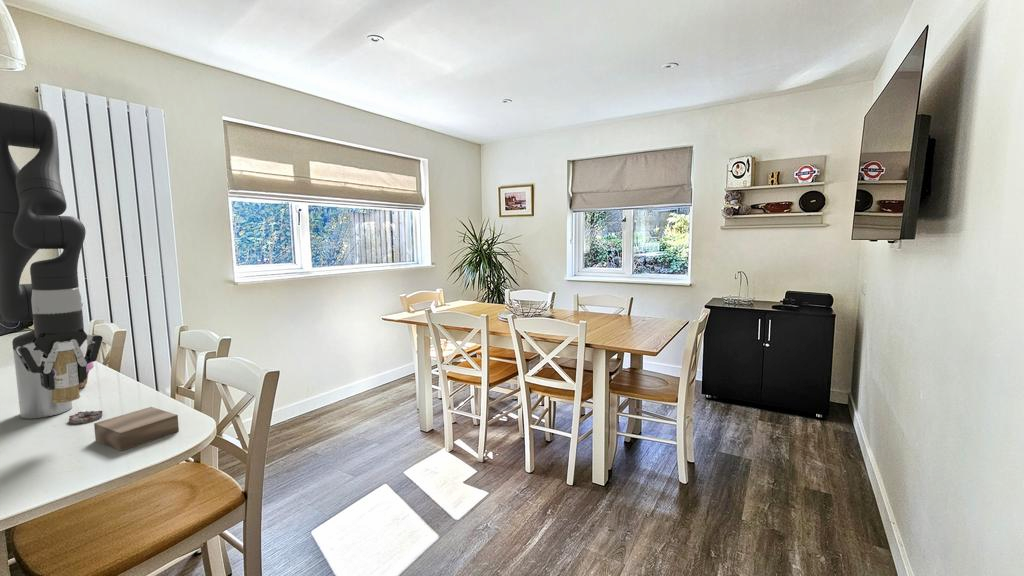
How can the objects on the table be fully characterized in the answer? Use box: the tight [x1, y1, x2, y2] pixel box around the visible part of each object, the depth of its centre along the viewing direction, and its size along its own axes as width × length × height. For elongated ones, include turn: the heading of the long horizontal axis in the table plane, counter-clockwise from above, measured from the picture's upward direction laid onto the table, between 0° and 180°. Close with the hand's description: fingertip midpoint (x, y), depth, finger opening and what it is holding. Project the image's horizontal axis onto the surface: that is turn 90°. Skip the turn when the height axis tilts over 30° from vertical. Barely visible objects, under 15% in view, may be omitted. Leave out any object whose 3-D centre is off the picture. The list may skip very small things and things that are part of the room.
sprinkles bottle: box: [51, 341, 81, 403], centre depth 97 cm, size 5×5×14 cm
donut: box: [68, 410, 104, 425], centre depth 110 cm, size 8×8×2 cm
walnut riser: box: [93, 406, 180, 452], centre depth 102 cm, size 11×11×4 cm
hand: (65, 385), depth 98 cm, fingers closed on sprinkles bottle, 4 cm apart
